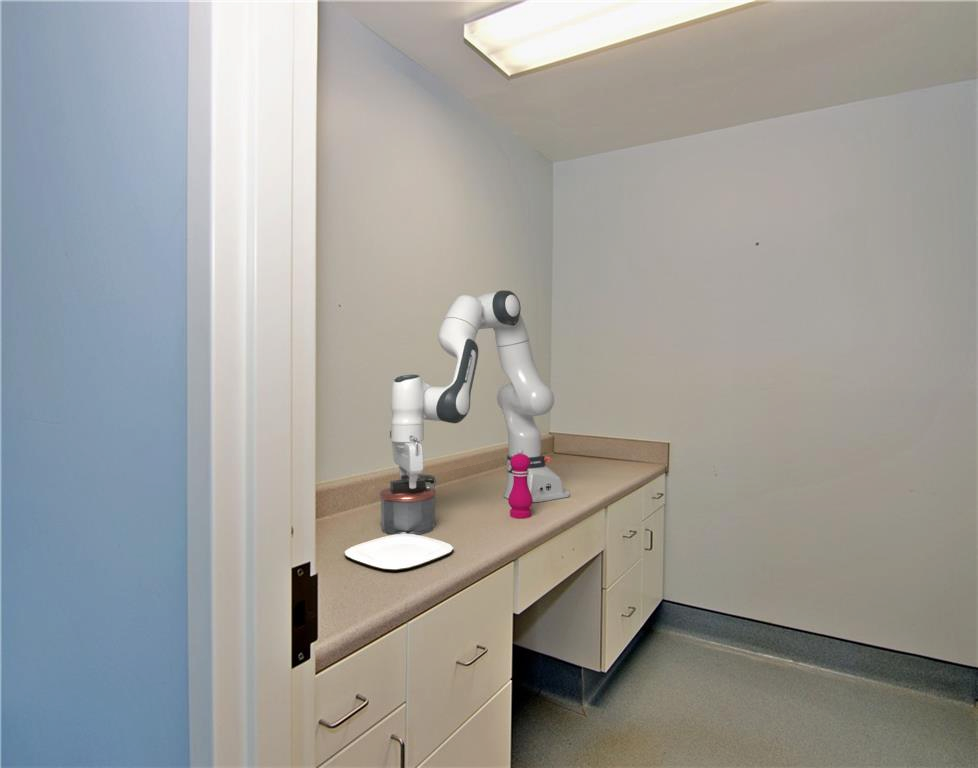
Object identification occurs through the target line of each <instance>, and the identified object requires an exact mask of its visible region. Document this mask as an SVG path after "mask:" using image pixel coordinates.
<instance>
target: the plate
mask: <svg viewBox="0 0 978 768" xmlns="http://www.w3.org/2000/svg"><path fill="white" fill-rule="evenodd" d="M453 550H455V549H454V547H453V546H452V545H451V544H450V543H449V542H448V543H447V542H446V541H442V540H439V539H436V538H431V537H428V536H425V535H424V536H423V535H415V534H395V535H389V534H388V535H386V536H381V537H378V538H374V539H371V540H368V541H365V542H362V543H359V544H355V545H353V546H350V547H349V548H348V549H346V550H345V551H344V556H345V557H346V558H348V559H351V560H352V561H354V562H357V563H361V564H363V565H367V566H369V567H373V568H376V569H380V570H387V571H401V570H408V569H411V568H415V567H419V566H422V565H424V564H428V563H431V562H432V561H435V560H438V559H440V558H442V557H444V556H446V555H449V554H451V552H452V551H453Z"/></svg>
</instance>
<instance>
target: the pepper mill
mask: <svg viewBox="0 0 978 768" xmlns="http://www.w3.org/2000/svg"><path fill="white" fill-rule="evenodd" d="M517 453H518V454H516V455H514V456H513V457H512V458H511V461H510V465H511V467H512V468H513V470H512V475H513V478H514V482H513V487H512V490H511V492H510V495H509V499H508V498H507V499H508V500H507V501H508V505H509V507H510V509H509V516H510V517H511V518H514V519H527V518H528V519H529V518H530V517H531V516H532V510H531V507H532V506H533V503H534V502H533V500H532V495H531V493H530V490H529V488H528V484H527V476H528V475H529V474H528V472H529V471H528V468H529V467H530V459H529V457H528V456H527V455H524V454H523V450H522V449H518V451H517Z"/></svg>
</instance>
